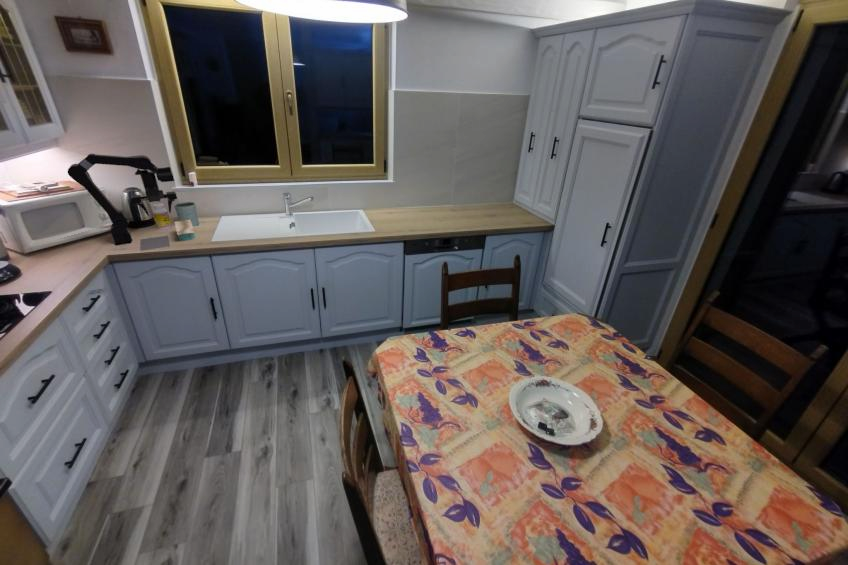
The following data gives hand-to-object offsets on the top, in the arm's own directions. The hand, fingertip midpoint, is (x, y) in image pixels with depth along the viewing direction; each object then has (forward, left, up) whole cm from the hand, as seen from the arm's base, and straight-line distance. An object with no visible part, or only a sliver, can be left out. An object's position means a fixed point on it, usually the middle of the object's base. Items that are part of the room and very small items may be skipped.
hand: (159, 214), depth 193 cm
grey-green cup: (+12, +14, -12) cm, 22 cm away
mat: (-5, -8, -12) cm, 15 cm away
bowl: (+9, -8, -12) cm, 17 cm away
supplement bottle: (0, +16, -12) cm, 20 cm away
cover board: (+9, -8, -7) cm, 14 cm away
